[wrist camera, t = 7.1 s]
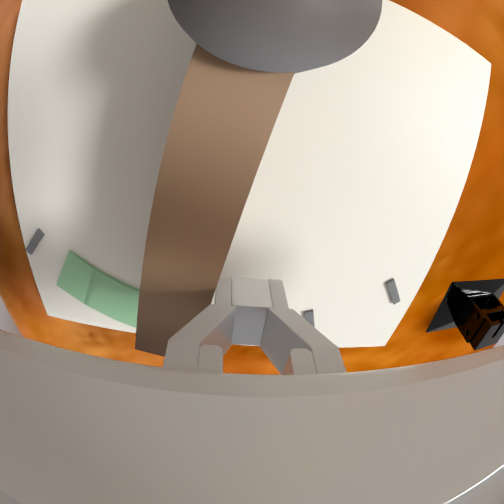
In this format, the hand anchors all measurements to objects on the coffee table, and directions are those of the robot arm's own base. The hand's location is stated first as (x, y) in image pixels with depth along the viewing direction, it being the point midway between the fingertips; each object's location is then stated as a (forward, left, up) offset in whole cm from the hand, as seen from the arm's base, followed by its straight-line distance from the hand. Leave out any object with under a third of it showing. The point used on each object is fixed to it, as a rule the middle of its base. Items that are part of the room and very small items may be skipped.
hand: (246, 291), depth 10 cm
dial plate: (-3, -1, -5) cm, 6 cm away
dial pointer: (-3, -2, -3) cm, 4 cm away
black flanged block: (+4, +21, -6) cm, 22 cm away
